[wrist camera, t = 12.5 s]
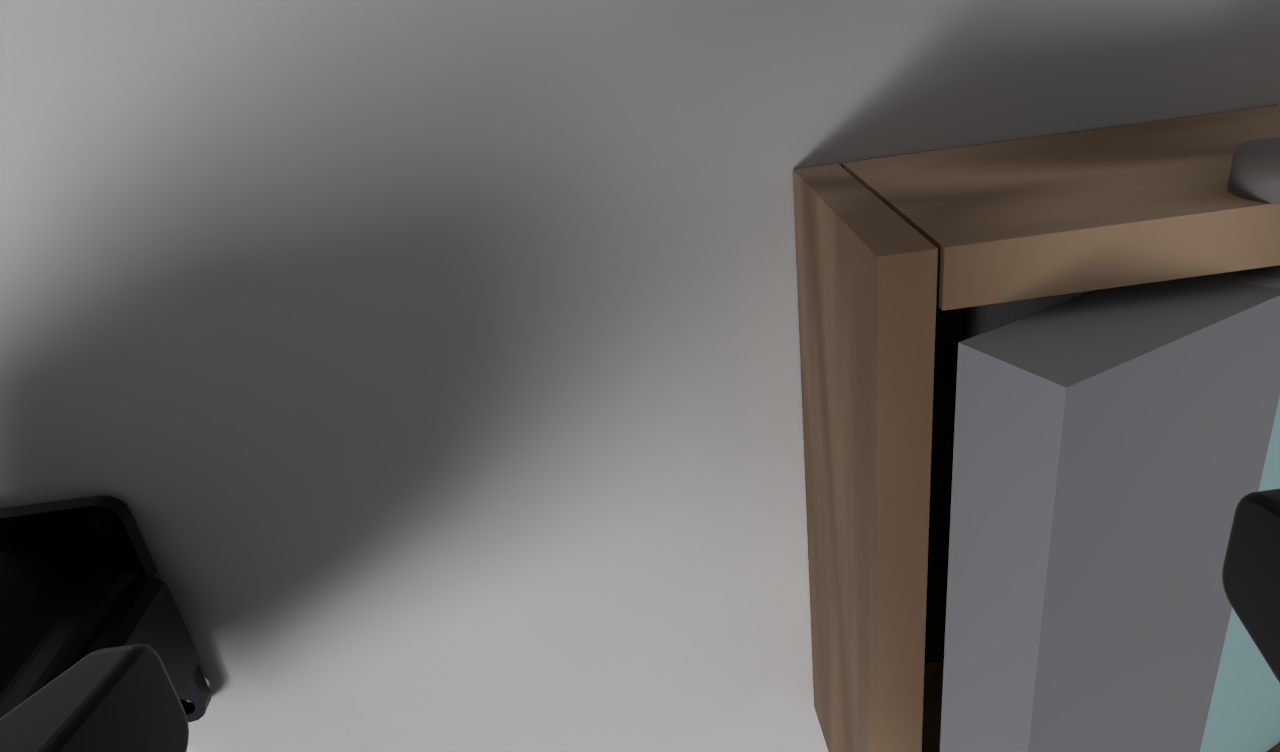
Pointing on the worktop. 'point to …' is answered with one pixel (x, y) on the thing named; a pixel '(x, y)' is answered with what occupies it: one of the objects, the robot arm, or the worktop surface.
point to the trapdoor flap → (1111, 522)
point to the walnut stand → (905, 345)
